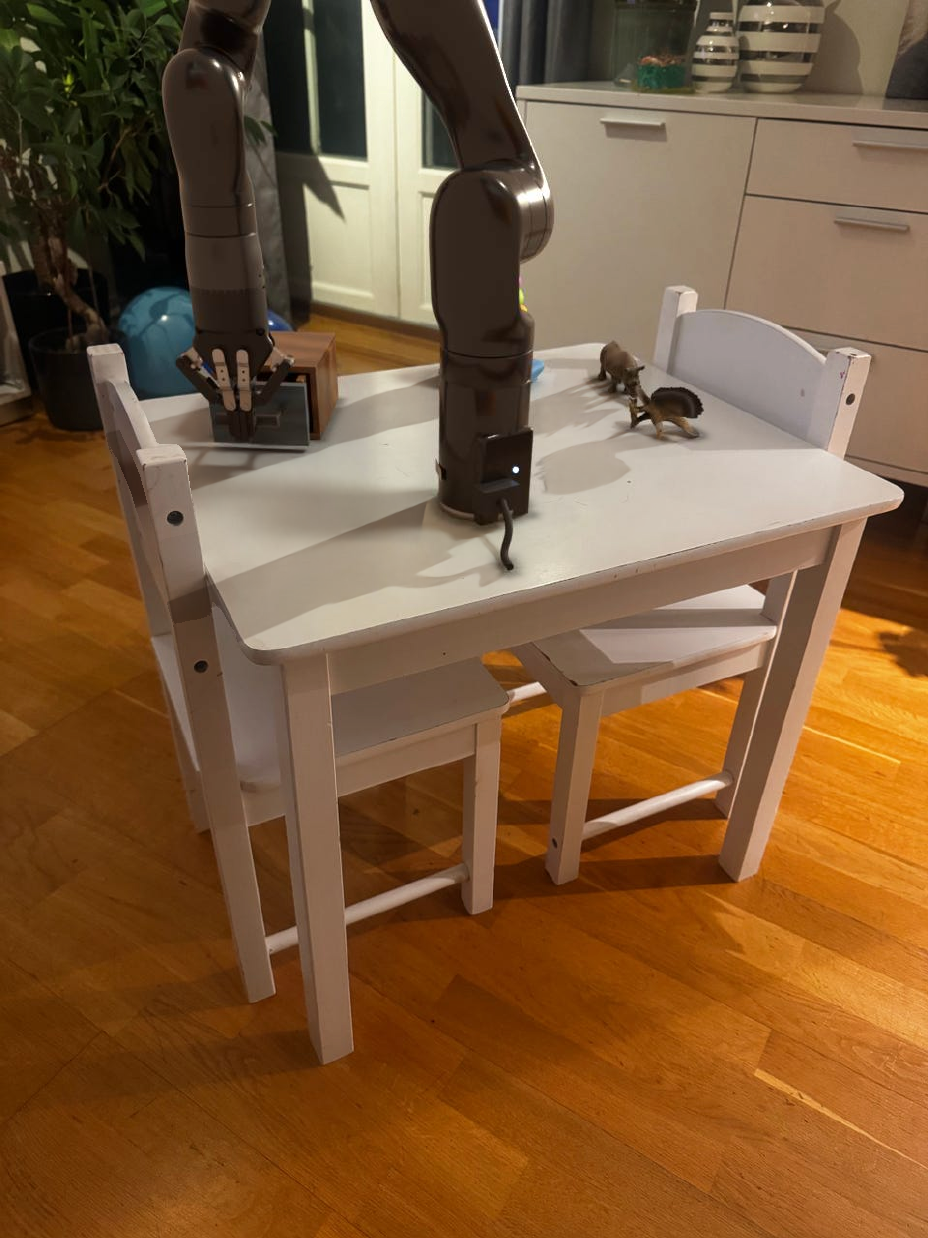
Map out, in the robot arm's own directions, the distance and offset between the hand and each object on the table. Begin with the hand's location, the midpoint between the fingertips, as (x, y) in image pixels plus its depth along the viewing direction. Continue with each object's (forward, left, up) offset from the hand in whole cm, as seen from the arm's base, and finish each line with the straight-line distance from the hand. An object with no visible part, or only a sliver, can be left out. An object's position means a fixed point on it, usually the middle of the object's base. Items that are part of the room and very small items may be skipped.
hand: (244, 439), depth 102 cm
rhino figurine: (+1, -56, -4) cm, 57 cm away
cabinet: (+15, -11, -4) cm, 19 cm away
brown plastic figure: (-14, -51, -4) cm, 53 cm away
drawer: (+9, -6, -3) cm, 11 cm away
